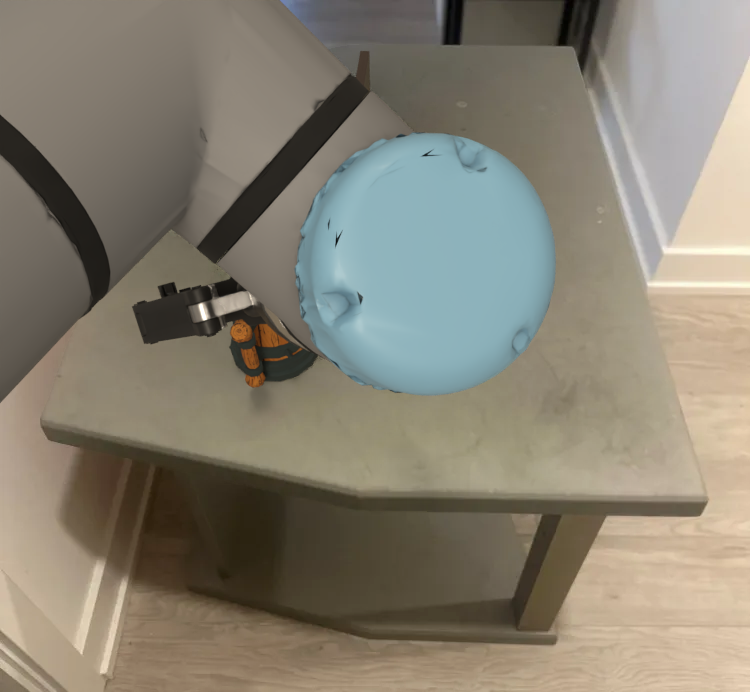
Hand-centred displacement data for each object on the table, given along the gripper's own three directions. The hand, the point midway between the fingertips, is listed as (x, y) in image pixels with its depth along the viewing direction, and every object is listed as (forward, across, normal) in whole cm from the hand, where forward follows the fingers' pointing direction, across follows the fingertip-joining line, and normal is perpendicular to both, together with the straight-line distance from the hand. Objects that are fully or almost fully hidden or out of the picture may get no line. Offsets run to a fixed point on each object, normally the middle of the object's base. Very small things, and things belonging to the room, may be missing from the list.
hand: (279, 280), depth 55 cm
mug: (+24, 0, -8) cm, 25 cm away
